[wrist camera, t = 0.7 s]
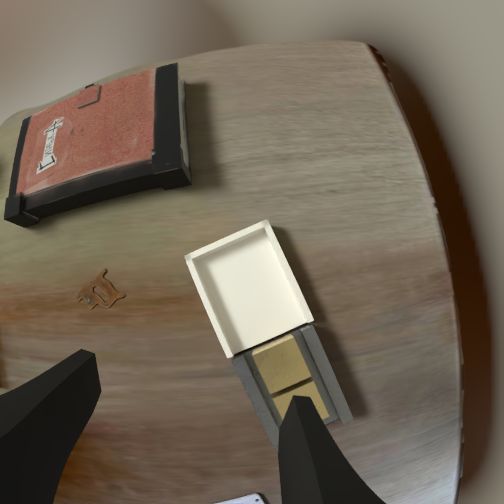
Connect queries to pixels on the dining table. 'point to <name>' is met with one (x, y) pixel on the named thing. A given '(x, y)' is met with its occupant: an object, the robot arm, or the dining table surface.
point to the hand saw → (94, 299)
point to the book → (101, 146)
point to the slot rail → (319, 374)
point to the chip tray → (248, 288)
